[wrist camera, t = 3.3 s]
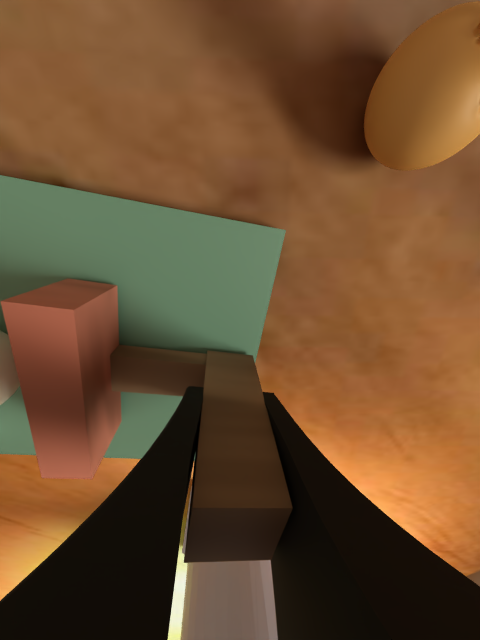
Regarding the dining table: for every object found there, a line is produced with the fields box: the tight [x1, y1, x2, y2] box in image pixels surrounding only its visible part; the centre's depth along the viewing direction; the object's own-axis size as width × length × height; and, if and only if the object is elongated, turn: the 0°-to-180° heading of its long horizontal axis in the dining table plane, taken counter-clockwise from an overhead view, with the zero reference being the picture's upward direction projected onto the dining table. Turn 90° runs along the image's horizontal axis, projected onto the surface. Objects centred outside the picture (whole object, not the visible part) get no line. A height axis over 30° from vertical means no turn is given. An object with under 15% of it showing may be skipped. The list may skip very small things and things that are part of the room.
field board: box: [0, 175, 286, 461], centre depth 12 cm, size 15×21×1 cm
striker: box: [1, 279, 293, 563], centre depth 8 cm, size 8×9×7 cm
